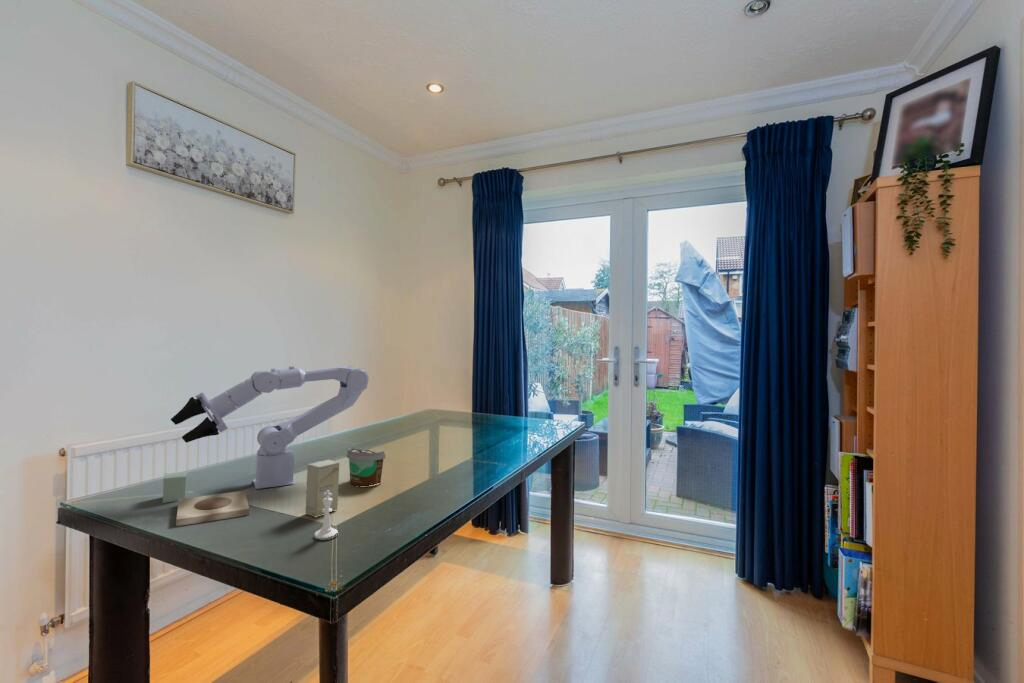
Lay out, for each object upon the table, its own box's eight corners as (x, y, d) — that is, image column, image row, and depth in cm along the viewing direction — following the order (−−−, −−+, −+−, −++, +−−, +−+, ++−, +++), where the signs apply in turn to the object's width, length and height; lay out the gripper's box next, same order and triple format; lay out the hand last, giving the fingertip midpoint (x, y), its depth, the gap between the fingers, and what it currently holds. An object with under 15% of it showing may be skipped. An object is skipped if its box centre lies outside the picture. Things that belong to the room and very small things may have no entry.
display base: (244, 496, 121) (244, 489, 120) (249, 514, 109) (249, 507, 109) (178, 505, 113) (178, 498, 113) (176, 526, 101) (176, 518, 101)
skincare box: (315, 518, 109) (317, 467, 109) (304, 514, 111) (306, 463, 111) (338, 510, 114) (340, 461, 114) (327, 506, 116) (329, 458, 116)
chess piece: (329, 542, 97) (331, 495, 97) (308, 539, 98) (310, 492, 98) (342, 532, 102) (344, 488, 102) (322, 530, 103) (324, 485, 103)
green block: (185, 494, 120) (186, 471, 120) (184, 499, 116) (185, 476, 116) (163, 497, 118) (164, 473, 117) (162, 502, 114) (163, 478, 114)
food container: (336, 484, 133) (337, 450, 133) (350, 478, 139) (352, 445, 139) (370, 491, 128) (371, 456, 128) (384, 485, 134) (385, 451, 134)
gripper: (213, 376, 125) (159, 405, 118) (236, 407, 118) (180, 440, 112) (225, 391, 130) (174, 420, 124) (247, 422, 123) (195, 454, 117)
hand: (178, 430), depth 118 cm, fingers open, 7 cm apart
